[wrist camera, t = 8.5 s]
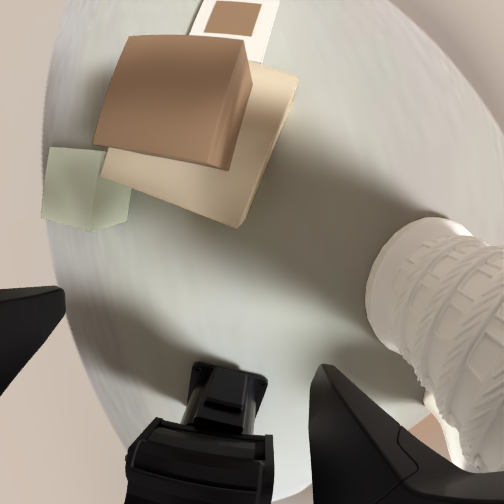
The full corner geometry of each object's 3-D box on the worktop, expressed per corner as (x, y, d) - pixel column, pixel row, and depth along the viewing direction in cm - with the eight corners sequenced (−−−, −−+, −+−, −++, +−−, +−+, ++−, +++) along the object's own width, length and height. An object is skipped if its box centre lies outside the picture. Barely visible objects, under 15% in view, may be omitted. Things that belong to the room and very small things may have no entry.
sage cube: (127, 221, 20) (90, 231, 15) (80, 210, 20) (41, 217, 15) (138, 157, 19) (102, 151, 14) (89, 151, 19) (49, 147, 14)
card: (261, 64, 16) (261, 61, 16) (183, 56, 17) (181, 53, 16) (282, -6, 15) (282, -10, 14) (212, -12, 15) (210, -16, 14)
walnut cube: (228, 171, 14) (206, 162, 9) (143, 154, 14) (92, 144, 9) (252, 84, 13) (243, 39, 8) (167, 73, 13) (128, 36, 8)
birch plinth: (245, 219, 19) (237, 229, 15) (136, 177, 19) (99, 176, 14) (292, 103, 17) (299, 77, 12) (179, 70, 17) (155, 42, 12)
